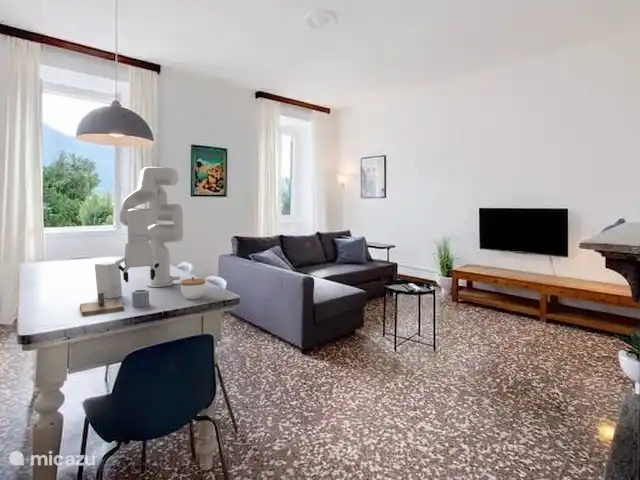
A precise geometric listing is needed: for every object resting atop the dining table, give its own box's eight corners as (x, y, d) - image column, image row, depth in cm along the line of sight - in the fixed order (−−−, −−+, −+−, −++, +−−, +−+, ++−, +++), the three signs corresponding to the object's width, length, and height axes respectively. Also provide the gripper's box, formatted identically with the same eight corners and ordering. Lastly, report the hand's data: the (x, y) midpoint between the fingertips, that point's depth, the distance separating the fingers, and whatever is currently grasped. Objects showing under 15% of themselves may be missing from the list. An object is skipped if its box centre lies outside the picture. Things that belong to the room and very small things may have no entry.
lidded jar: (175, 299, 167) (174, 278, 166) (191, 293, 177) (191, 274, 176) (195, 301, 164) (194, 280, 163) (210, 295, 174) (210, 275, 173)
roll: (147, 302, 161) (146, 288, 160) (150, 305, 156) (149, 291, 156) (131, 304, 158) (131, 290, 157) (134, 307, 153) (133, 293, 152)
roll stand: (118, 302, 161) (117, 287, 160) (123, 310, 150) (123, 294, 149) (79, 307, 153) (79, 291, 152) (82, 316, 141) (81, 299, 141)
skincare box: (122, 296, 172) (121, 262, 171) (110, 299, 166) (108, 264, 164) (108, 294, 175) (107, 261, 173) (96, 297, 169) (94, 263, 167)
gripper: (158, 237, 162) (159, 277, 163) (113, 239, 152) (114, 281, 153) (162, 238, 156) (164, 279, 157) (115, 240, 146) (117, 284, 147)
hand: (139, 280), depth 155 cm, fingers open, 9 cm apart
